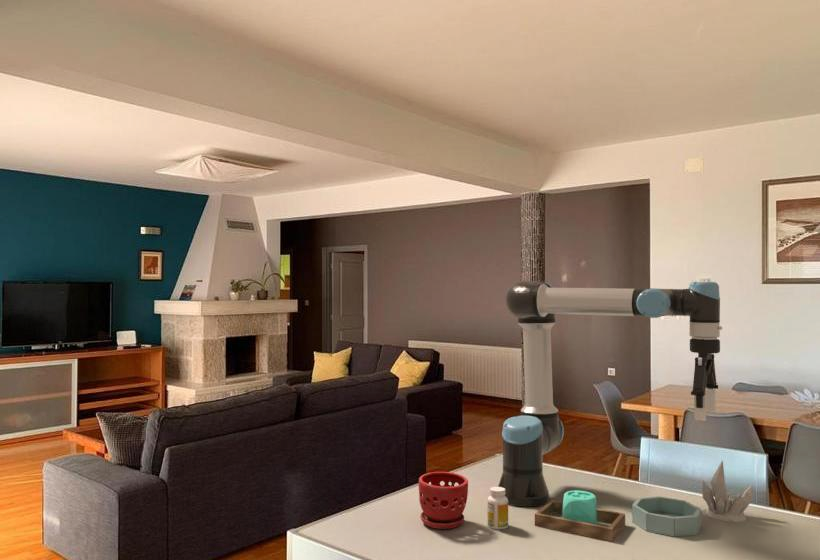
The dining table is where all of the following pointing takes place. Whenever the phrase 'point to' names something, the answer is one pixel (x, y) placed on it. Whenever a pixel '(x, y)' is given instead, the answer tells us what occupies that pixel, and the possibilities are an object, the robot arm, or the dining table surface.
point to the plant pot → (442, 499)
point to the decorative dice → (580, 506)
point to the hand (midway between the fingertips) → (705, 416)
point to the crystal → (725, 499)
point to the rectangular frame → (581, 528)
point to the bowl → (666, 516)
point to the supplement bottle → (497, 508)
